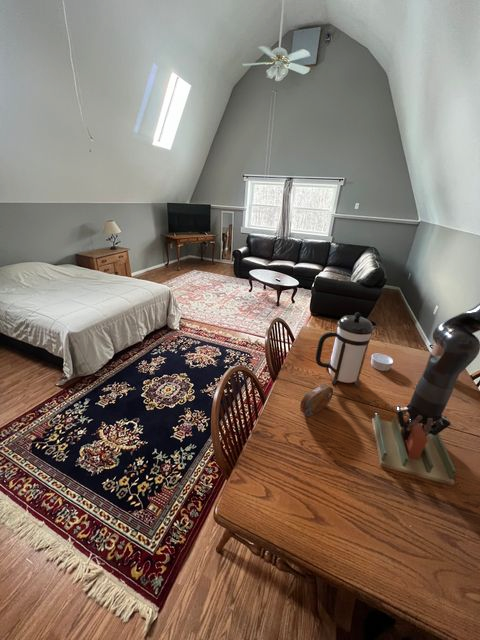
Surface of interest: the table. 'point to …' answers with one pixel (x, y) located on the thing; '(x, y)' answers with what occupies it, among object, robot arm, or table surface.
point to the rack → (395, 457)
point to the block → (415, 441)
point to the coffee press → (347, 348)
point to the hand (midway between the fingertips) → (411, 439)
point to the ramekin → (381, 362)
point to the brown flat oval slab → (316, 399)
